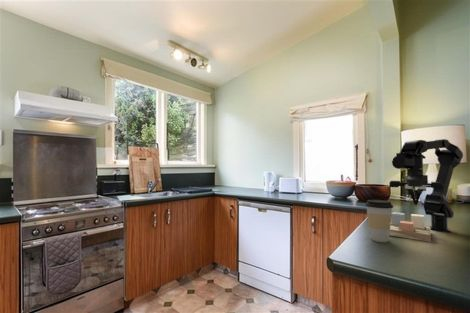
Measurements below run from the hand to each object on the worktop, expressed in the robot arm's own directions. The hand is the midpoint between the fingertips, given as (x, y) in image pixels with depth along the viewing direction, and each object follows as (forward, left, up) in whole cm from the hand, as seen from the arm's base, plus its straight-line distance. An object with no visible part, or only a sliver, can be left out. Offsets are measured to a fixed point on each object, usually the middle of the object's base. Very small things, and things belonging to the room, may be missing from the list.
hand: (415, 204), depth 105 cm
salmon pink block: (+9, -3, -11) cm, 15 cm away
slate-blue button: (+1, -6, -9) cm, 11 cm away
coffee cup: (+23, -11, -12) cm, 28 cm away
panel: (+5, -3, -12) cm, 13 cm away
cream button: (+1, +1, -9) cm, 9 cm away
